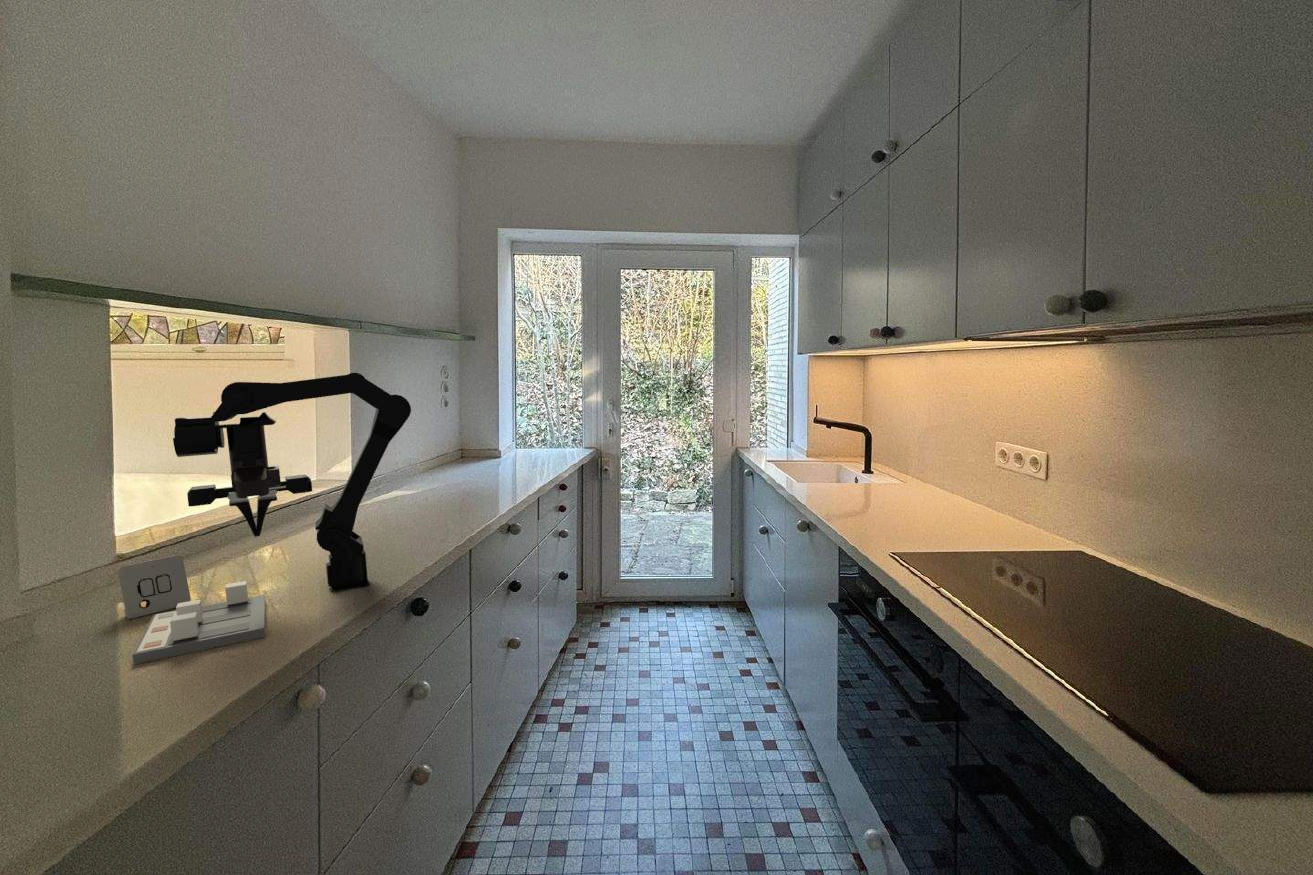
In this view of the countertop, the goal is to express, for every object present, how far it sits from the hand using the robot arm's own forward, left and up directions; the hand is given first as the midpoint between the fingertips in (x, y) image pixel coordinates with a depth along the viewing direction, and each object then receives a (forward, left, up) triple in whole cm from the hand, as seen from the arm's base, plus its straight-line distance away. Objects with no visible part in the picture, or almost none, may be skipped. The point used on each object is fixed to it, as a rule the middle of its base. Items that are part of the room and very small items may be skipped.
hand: (257, 536), depth 115 cm
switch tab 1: (+10, +12, -10) cm, 18 cm away
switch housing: (+8, +12, -12) cm, 19 cm away
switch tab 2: (+10, +19, -10) cm, 24 cm away
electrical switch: (+17, -6, -12) cm, 22 cm away
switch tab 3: (+4, +5, -10) cm, 12 cm away
